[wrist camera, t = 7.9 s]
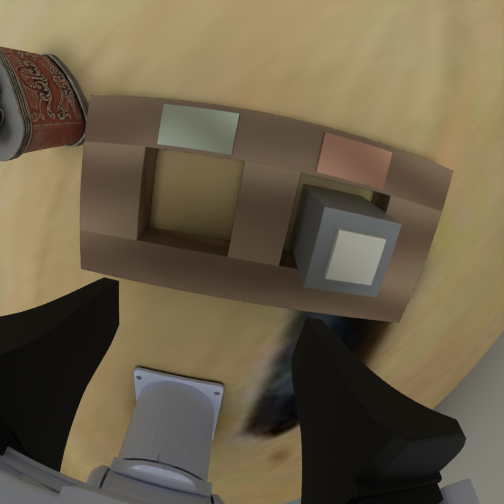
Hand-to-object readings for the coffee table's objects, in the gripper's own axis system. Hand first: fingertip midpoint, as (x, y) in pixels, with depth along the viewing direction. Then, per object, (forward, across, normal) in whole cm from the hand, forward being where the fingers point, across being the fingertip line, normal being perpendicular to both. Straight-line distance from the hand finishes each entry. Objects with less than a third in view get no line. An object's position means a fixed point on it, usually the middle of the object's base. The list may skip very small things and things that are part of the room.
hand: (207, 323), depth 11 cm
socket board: (+10, -2, -3) cm, 10 cm away
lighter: (+10, +13, -8) cm, 18 cm away
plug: (+10, -6, -2) cm, 12 cm away
